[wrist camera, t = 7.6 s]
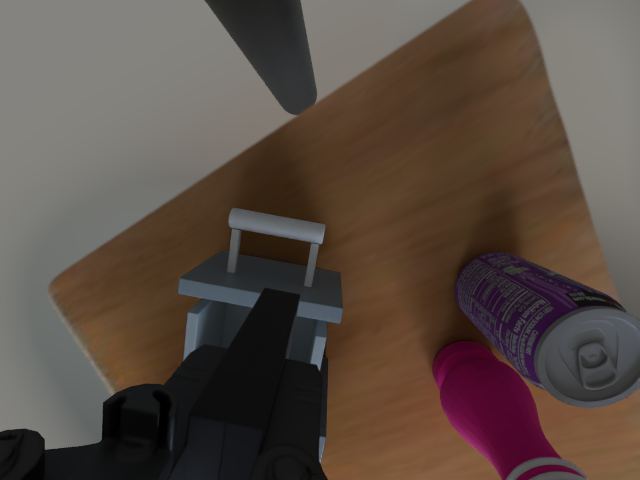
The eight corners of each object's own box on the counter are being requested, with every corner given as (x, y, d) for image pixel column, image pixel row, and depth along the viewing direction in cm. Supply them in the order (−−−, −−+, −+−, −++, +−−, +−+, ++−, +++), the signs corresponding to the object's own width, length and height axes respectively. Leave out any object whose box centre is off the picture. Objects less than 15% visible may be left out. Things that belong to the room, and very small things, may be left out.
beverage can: (537, 305, 28) (677, 394, 17) (464, 330, 29) (547, 429, 18) (517, 238, 27) (650, 281, 16) (441, 265, 28) (513, 325, 17)
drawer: (226, 197, 27) (184, 206, 19) (350, 220, 27) (358, 237, 19) (206, 374, 31) (165, 440, 23) (315, 395, 31) (309, 467, 23)
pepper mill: (417, 348, 30) (561, 659, 11) (488, 325, 29) (791, 620, 10) (440, 407, 31) (607, 785, 12) (509, 387, 30) (818, 763, 11)
